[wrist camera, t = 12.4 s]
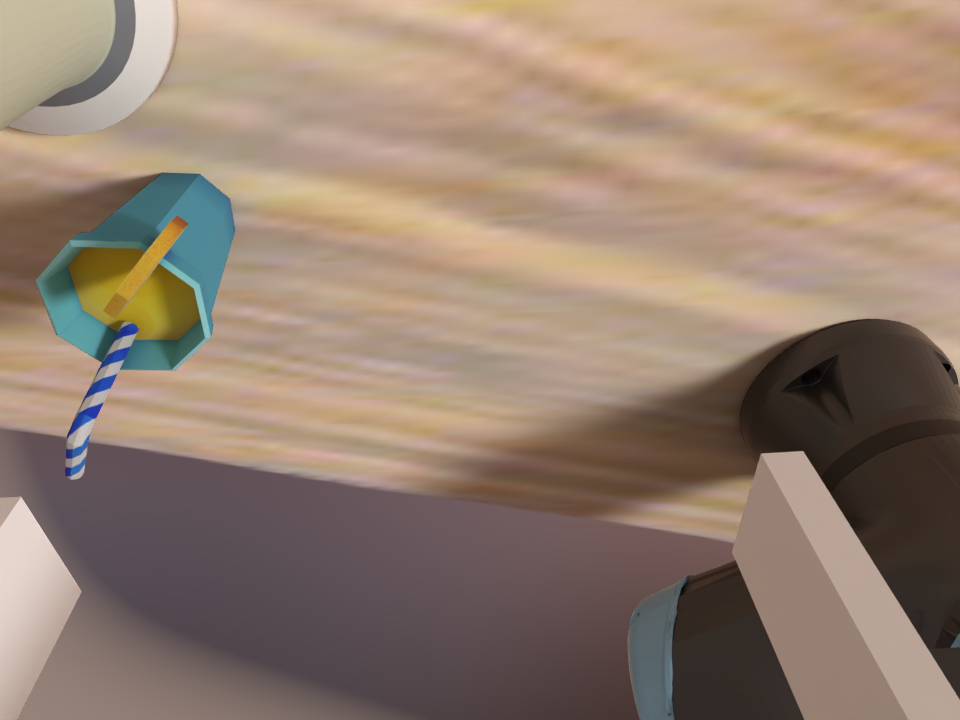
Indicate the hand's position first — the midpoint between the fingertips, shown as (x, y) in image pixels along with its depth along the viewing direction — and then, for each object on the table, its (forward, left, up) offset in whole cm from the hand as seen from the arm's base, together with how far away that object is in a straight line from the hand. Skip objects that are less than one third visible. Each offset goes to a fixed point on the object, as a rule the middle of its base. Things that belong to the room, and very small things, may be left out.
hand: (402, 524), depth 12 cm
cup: (-8, +14, -30) cm, 34 cm away
